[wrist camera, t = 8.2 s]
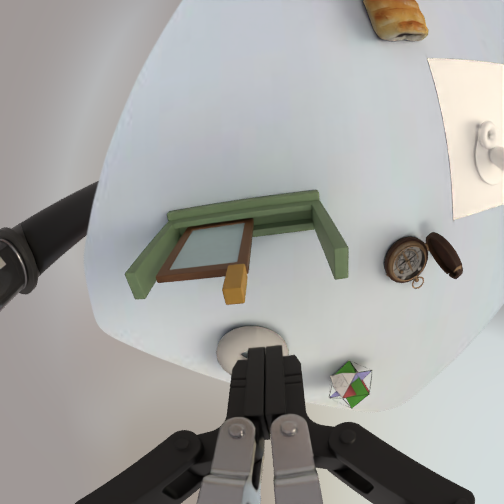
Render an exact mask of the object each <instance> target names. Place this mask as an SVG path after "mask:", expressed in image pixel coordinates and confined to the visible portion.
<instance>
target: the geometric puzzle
mask: <svg viewBox="0 0 504 504" xmlns="http://www.w3.org/2000/svg"><path fill="white" fill-rule="evenodd" d="M356 364H357V363H356ZM354 368H355V367H354V366H353V365H352V363H351V362H350V360H349V361H348V362H347V363H346V364H344V366H343V367H342V368H341V369H340V370H339V371H338V370H337V371H338V372H337V373H336V374H335V375H333V376H332V375H331V376H330V378H331V380H332V383H333V387H334V389H335V390H336V392H335V393H334V394H333V395H332V396H330V395H329V396H330V397H329V398H330V399H331V397H337V396H341V397H342V399H343V398H346V399H347V401H348V402H349V404H350V406H351V409H352V408H353V407H354V406H355V405H357V404H358V403H359V402H360V401H362V400H363V399H364V398H365V397H366V396H368V395H369V394H370V393H369V392H370V389H369V390H368V388H367V387H366V385H365V383H364V382H363V379H364V378H365V377H366V376H367V375H368V374H369V373H370V372H371V371H373V370H370V371H363V372H356V371H357V370H356V369H354ZM365 368H366V367H365ZM355 370H356V371H355ZM371 378H372V375H371ZM370 384H371V382H370ZM370 386H371V385H370ZM331 388H332V386H331ZM329 392H331V391H329ZM343 400H344V399H343ZM344 401H345V400H344ZM345 402H346V401H345ZM346 403H347V402H346ZM347 404H348V403H347ZM343 405H344V404H343ZM345 406H346V405H345Z"/></svg>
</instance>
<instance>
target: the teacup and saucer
mask: <svg viewBox="0 0 504 504" xmlns="http://www.w3.org/2000/svg"><path fill="white" fill-rule="evenodd" d="M488 156H489V160H490V161H491V163H492V164H490V162H489V161H488V159H487V157H488ZM475 164H476V169H477V172H478V174H479V176H480V177H481V179H482V180H483V181H484V182H485V183H486V184H487V185H490V186H497V185H499V184H501V183H502V182H503V181H504V131H503V130H502V129H501V128H500V127H498V126H496V125H495V124H494V123H493V122H492V121H491V120H484V121H483V122H482V123H481V124H480V125H479V128H478V137H477V140H476V144H475Z"/></svg>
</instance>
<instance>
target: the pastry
mask: <svg viewBox="0 0 504 504" xmlns="http://www.w3.org/2000/svg"><path fill="white" fill-rule="evenodd" d="M363 3H364V5H365V6H366V10H367V13H368V16H369V18H370V20H371V24H372V27H373V29H374V31H375V32H376V34H377V35H378V37H380V38H381V39H383V40H388V41H398V40H404V39H406V40H409V41H420V40H422V39H424V38H425V37H426V36H427V35H428V28H427V27H426V23H425V18H424V16H423V14H422V13H421V11H420V9H419V6H418V3H417V2H416V1H415V0H363Z"/></svg>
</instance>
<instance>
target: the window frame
mask: <svg viewBox="0 0 504 504" xmlns="http://www.w3.org/2000/svg"><path fill="white" fill-rule="evenodd" d="M167 218H168V222H167V224H166V225H165V226H164V227H163V228H162V229H161V230H160V232H159V233H158V234H157V235H156V236H155V237H154V239H153V240H152V241H151V242H150V243H149V244H148V246H147V247H146V248H145V249H144V250H143V252H142V253H141V254H140V255H139V257H138V258H137V259H136V260H135V261H134V263H133V264H132V265H131V266H130V268H129V269H128V270H127V271H126V273H125V276H126V278H127V281H128V283H129V286H130V288H131V291H132V293H133V295H134V298H135V299H145V298H146V297H147V295H148V293H149V292H150V290H151V288H152V287H153V285H154V283H155V282H156V275H157V273H158V272H159V270H160V269H161V267H162V266H163V264H164V262H165V261H166V259H167V258H168V256H169V255H170V253H171V252H172V250H173V249H174V247H175V245H176V244H177V242H178V241H179V239H180V238H181V236H182V235H183V233H184V232H185V230H186V229H187V228H188V227H192V226H198V225H205V224H212V223H218V222H225V221H232V220H239V219H247V218H253V219H254V227H253V236H252V237H257V236H265V235H273V234H281V233H289V232H298V231H306V230H314V229H315V231H316V233H317V236H318V238H319V241H320V243H321V246H322V248H323V251H324V253H325V256H326V258H327V261H328V263H329V266H330V268H331V271H332V274H333V276H334V279H343V278H348V246H347V244H346V243H345V241H344V239H343V237H342V236H341V234H340V232H339V231H338V229H337V227H336V226H335V224H334V223H333V221H332V219H331V218H330V216H329V214H328V213H327V211H326V210H325V208H324V207H323V205H322V203H321V202H320V200H319V192H318V191H317V190H312V191H303V192H294V193H286V194H278V195H270V196H263V197H255V198H248V199H241V200H234V201H228V202H221V203H215V204H209V205H203V206H197V207H191V208H185V209H180V210H174V211H169V212H168V213H167Z"/></svg>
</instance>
